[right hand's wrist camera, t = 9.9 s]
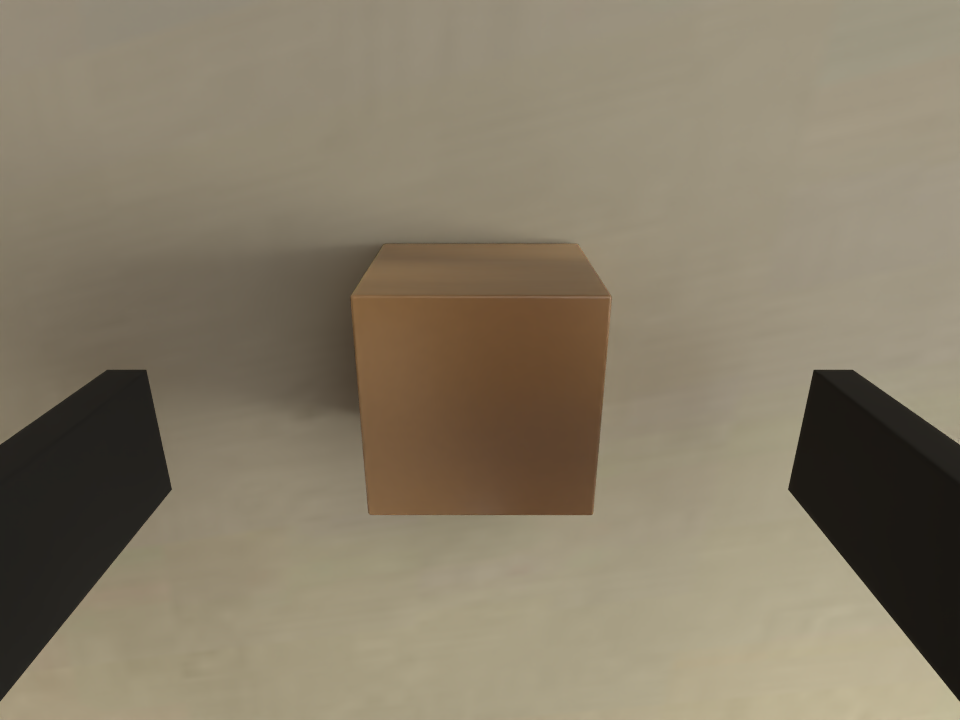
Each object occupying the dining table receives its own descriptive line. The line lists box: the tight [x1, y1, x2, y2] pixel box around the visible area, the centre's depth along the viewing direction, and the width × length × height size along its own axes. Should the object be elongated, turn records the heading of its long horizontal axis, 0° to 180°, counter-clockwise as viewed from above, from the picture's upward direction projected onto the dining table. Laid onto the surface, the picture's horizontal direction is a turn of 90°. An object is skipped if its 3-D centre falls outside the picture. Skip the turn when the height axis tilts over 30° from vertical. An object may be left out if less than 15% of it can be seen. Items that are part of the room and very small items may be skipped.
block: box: [350, 244, 612, 515], centre depth 13 cm, size 4×5×4 cm
